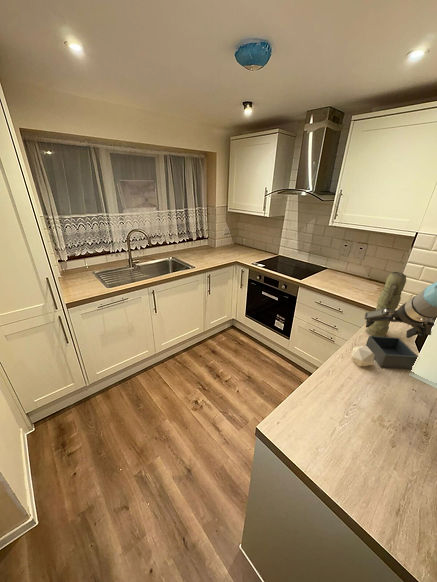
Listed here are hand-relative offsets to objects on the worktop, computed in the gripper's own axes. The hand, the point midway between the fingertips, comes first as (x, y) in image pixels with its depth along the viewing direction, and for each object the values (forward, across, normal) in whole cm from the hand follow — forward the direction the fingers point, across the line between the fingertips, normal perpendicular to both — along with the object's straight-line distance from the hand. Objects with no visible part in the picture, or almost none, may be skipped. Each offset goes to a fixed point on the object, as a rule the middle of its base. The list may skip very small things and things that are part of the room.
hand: (386, 329), depth 90 cm
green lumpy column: (+42, +10, +12) cm, 45 cm away
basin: (+28, +12, -3) cm, 31 cm away
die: (+22, -1, -11) cm, 25 cm away
